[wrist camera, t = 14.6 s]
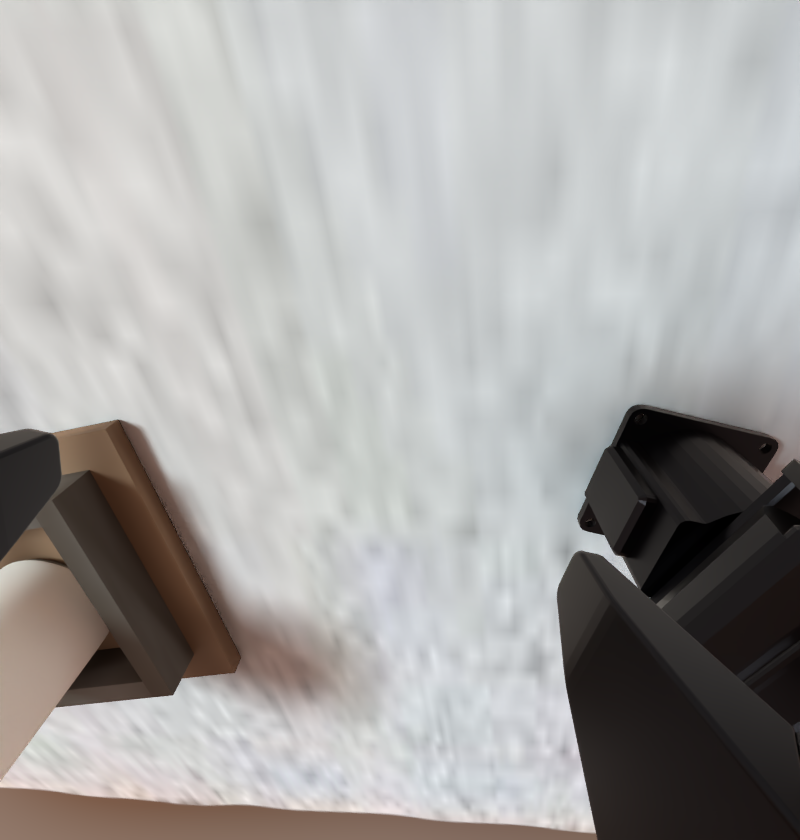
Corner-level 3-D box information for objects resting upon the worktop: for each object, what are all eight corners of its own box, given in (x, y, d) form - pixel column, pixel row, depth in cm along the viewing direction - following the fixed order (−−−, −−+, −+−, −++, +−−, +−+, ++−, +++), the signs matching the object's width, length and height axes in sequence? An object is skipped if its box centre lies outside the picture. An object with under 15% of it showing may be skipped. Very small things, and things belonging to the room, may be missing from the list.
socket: (118, 419, 23) (67, 456, 20) (241, 657, 29) (217, 714, 26) (-156, 475, 25) (-241, 516, 22) (12, 683, 32) (-34, 738, 29)
